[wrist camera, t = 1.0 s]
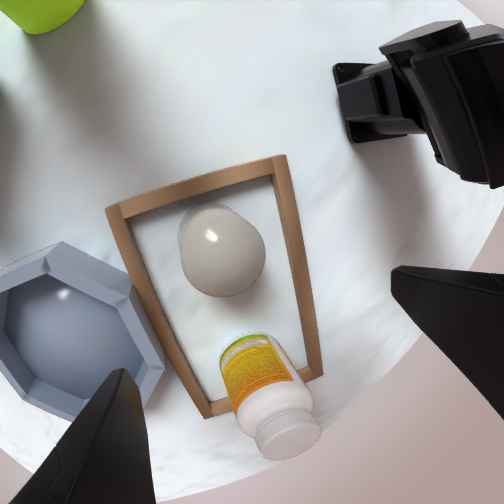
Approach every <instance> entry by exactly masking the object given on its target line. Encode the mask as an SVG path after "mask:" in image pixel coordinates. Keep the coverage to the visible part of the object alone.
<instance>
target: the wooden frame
mask: <svg viewBox="0 0 504 504" xmlns="http://www.w3.org/2000/svg"><path fill="white" fill-rule="evenodd" d="M268 174H271V178H272V183H273V187H274V192H275V196H276V201H277V205H278V210H279V214H280V219H281V224H282V229H283V233H284V238H285V243H286V248H287V253H288V258H289V262H290V267H291V273H292V278H293V283H294V288H295V293H296V298H297V304H298V309H299V315H300V320H301V326H302V331H303V337H304V343H305V348H306V354H307V360H308V366H307V367H305V368H303V369H300V370H298V371H297V372H298V374H299V375H300V377H301V378H302V380H303V381H304V383H306V382H308V381H310V380H313V379H315V378H317V377H319V376H321V375H323V368H322V360H321V352H320V344H319V337H318V329H317V322H316V315H315V309H314V302H313V295H312V289H311V283H310V277H309V271H308V265H307V259H306V253H305V248H304V242H303V236H302V231H301V226H300V220H299V215H298V210H297V205H296V200H295V195H294V190H293V186H292V181H291V176H290V171H289V167H288V162H287V158H286V155H277V156H273V157H268V158H264V159H260V160H256V161H252V162H248V163H244V164H240V165H236V166H233V167H229V168H225V169H222V170H218V171H214V172H211V173H208V174H204V175H201V176H197V177H194V178H191V179H187V180H184V181H181V182H178V183H175V184H171V185H168V186H165V187H162V188H159V189H156V190H153V191H150V192H147V193H144V194H142V195H139V196H136V197H133V198H130V199H127V200H125V201H122V202H119V203H117V204H114V205H111V206H109V207H107V208H106V209H105V212H106V215H107V218H108V221H109V224H110V227H111V229H112V232H113V235H114V238H115V240H116V243H117V246H118V248H119V251H120V254H121V256H122V259H123V261H124V264H125V266H126V269H127V271H128V274H129V276H130V278H131V281H132V283H133V285H134V288H135V290H136V292H137V295H138V297H139V299H140V301H141V303H142V306H143V308H144V310H145V312H146V314H147V316H148V318H149V321H150V323H151V325H152V327H153V329H154V331H155V333H156V335H157V337H158V339H159V341H160V343H161V345H162V347H163V349H164V351H165V352H166V354H167V356H168V358H169V360H170V362H171V364H172V365H173V367H174V369H175V371H176V373H177V375H178V376H179V378H180V380H181V382H182V383H183V385H184V387H185V388H186V390H187V392H188V394H189V395H190V397H191V399H192V400H193V402H194V404H195V405H196V407H197V408H198V410H199V412H200V413H201V415H202V416H203V418H204V419H207V418H211V417H214V416H217V415H220V414H224V413H227V412H230V411H233V407H232V404H231V401H230V398H229V397H226V398H223V399H220V400H217V401H214V402H210V403H209V402H208V400H207V398H206V397H205V395H204V393H203V391H202V389H201V387H200V386H199V384H198V382H197V380H196V378H195V376H194V374H193V372H192V370H191V369H190V367H189V365H188V363H187V361H186V359H185V357H184V355H183V353H182V351H181V349H180V347H179V344H178V342H177V340H176V338H175V336H174V334H173V332H172V330H171V328H170V325H169V323H168V321H167V319H166V317H165V314H164V312H163V310H162V308H161V305H160V303H159V301H158V298H157V296H156V294H155V291H154V289H153V286H152V284H151V282H150V279H149V277H148V274H147V272H146V269H145V267H144V264H143V261H142V259H141V256H140V253H139V251H138V248H137V245H136V243H135V240H134V237H133V234H132V231H131V229H130V226H129V223H128V220H127V218H128V217H131V216H134V215H137V214H139V213H142V212H145V211H148V210H151V209H154V208H157V207H160V206H163V205H166V204H169V203H172V202H175V201H178V200H181V199H184V198H188V197H191V196H194V195H197V194H200V193H204V192H207V191H210V190H214V189H217V188H221V187H224V186H227V185H231V184H235V183H238V182H242V181H245V180H249V179H253V178H256V177H260V176H264V175H268Z"/></svg>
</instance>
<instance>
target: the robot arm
mask: <svg viewBox="0 0 504 504" xmlns="http://www.w3.org/2000/svg"><path fill="white" fill-rule="evenodd" d="M379 50H380V51H381V53H382V54H383V55H385V56H386V58H387V61H384V62H380V63H377V64H366V63H337V64H335V65H334V66H333V73H334V76H335V80H336V84H337V90H338V94H339V98H340V102H341V107H342V111H343V115H344V118H345V122H346V127H347V132H348V137H349V140H350V141H351V142H352V143H363V142H370V141H376V140H382V139H389V138H396V137H404V136H407V135H408V134H427V136H428V138H429V140H430V143H431V145H432V147H433V150H434V152H435V155H434V156H435V158H436V161H437V163H439V164H441V165H443V166H445V167H447V168H448V169H450V170H451V171H453V172H455V173H457V174H459V175H460V178H461V179H462V180H464V181H467V182H472V183H478V184H489V186H490V188H491V189H496V188H498V187H501V186H504V29H502V28H499V27H497V26H494V25H491V24H489V25H488V24H486V25H481V26H477V27H472V28H468V29H466V28H465V26H464V24H463V23H462V21H461V20H453V21H438V22H434V23H431V24H428V25H425V26H422V27H419V28H416V29H414V30H411V31H409V32H407V33H405V34H403V35H401V36H399V37H397V38H395V39H394V40H392V41H390V42H388V43H386V44H384V45H382V46H380V47H379ZM338 67H339V68H340V69H341V72H340V71H339V70H338ZM354 135H356V140H355V138H354ZM391 293H392V296H393V297H394V298H395V300H396V301H397V302H398V303H399V304H400V306H401V307H402V308H403V309H404V310H405V312H406V313H407V314H408V315H409V317H410V318H411V319H412V320H413V321H414V323H415V324H416V325H417V326H418V327H419V328H420V329H421V330H422V331H423V332H424V333H425V334H426V335H427V336H428V337H429V338H430V339H431V340H432V341H433V342H434V343H435V344H436V345H437V346H438V347H439V348H440V349H441V351H442V352H443V353H444V354H445V355H446V356H447V357H448V358H449V359H450V360H451V361H452V362H453V363H454V364H455V365H456V366H457V367H458V369H460V371H461V372H462V373H463V374H464V375H465V376H466V377H467V378H468V379H469V380H470V382H471V383H472V384H473V385H474V386H475V387H476V388H477V389H478V391H479V392H480V393H481V394H482V395H483V396H484V397H485V398H486V400H487V401H488V402H489V403H490V405H491V406H492V407H493V408H494V409H495V410H496V412H497V413H498V414H499V415H500V416H501V417H502V419H503V420H504V274H496V273H483V272H472V271H461V270H449V269H438V268H426V267H415V266H403V265H401V266H399V267H396V268H394V269H393V270H392V271H391ZM8 504H156V500H155V494H154V487H153V480H152V472H151V463H150V454H149V444H148V434H147V428H146V423H145V417H144V412H143V406H142V400H141V394H140V390H139V387H138V385H137V384H136V382H135V381H134V379H133V378H132V376H131V375H130V373H129V372H128V370H127V369H126V368H119V369H115V370H113V371H112V372H111V373H110V374H109V375H108V377H107V378H106V379H105V381H104V382H103V383H102V384H101V386H100V387H99V388H98V390H97V391H96V392H95V393H94V395H93V396H92V397H91V399H90V400H89V401H88V403H87V404H86V405H85V406H84V408H83V409H82V410H81V412H80V413H79V414H78V416H77V417H76V418H75V420H74V421H73V422H72V424H71V425H70V426H69V428H68V429H67V430H66V432H65V433H64V435H63V436H62V437H61V439H60V440H59V441H58V443H57V444H56V447H54V448H53V450H52V451H51V452H50V454H49V455H48V456H47V458H46V459H45V460H44V462H43V463H42V464H41V466H40V467H39V468H38V469H37V471H36V472H35V473H34V474H33V476H32V477H31V478H30V479H29V480H28V482H27V483H26V484H25V485H24V486H23V487H22V489H21V490H20V491H19V492H18V493H17V495H16V496H15V497H14V498H13V500H11V502H10V503H8Z"/></svg>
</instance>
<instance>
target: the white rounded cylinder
mask: <svg viewBox="0 0 504 504" xmlns="http://www.w3.org/2000/svg"><path fill="white" fill-rule="evenodd" d="M178 239H179V247H180V254H181V261H182V267H183V271H184V273H185V276H186V278H187V279H188V281H189V282H190V283H191V284H192V285H193V286H194V287H195V288H196V289H197V290H199V291H200V292H202V293H204V294H207V295H210V296H215V297H227V296H232V295H235V294H238V293H240V292H242V291H244V290H246V289H247V288H248V287H250V286H251V285H252V284H253V283H254V282H255V281H256V279H257V278H258V276H259V275H260V273H261V271H262V269H263V266H264V262H265V245H264V242H263V239H262V237H261V235H260V234H259V232H258V231H257V229H256V228H255V227H254V226H253V225H251V224H250V223H249V222H248V221H246V220H245V219H244V218H242V217H241V216H240V215H239V214H237V213H236V212H235V211H233V210H232V209H231V208H229V207H228V206H226V205H224V204H221V203H217V202H206V203H202V204H199V205H197V206H195V207H193V208H192V209H191V210H189V211H188V212H187V213H186V215H185V216H184V217H183V219H182V221H181V223H180V226H179V231H178Z"/></svg>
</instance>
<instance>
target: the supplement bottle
mask: <svg viewBox="0 0 504 504" xmlns="http://www.w3.org/2000/svg"><path fill="white" fill-rule="evenodd" d="M219 367H220V370H221V374H222V377H223V380H224V383H225V386H226V389H227V392H228V395H229V398H230V401H231V404H232V407H233V410H234V413H235V416H236V419H237V422H238V424H239V426H240V428H241V430H242V431H243V432H244V433H245V434H247V435H248V436H250V437H252V438H255V440H256V443H257V446H258V448H259V450H260V452H261V454H262V456H263V457H264V458H266V459H269V460H284V459H288V458H292V457H294V456H297V455H299V454H301V453H303V452H305V451H306V450H308V449H309V448H311V447H312V446H313V445H314V444H315V443H316V442H317V441H318V439H319V437H320V436H321V428H320V426H319V425H318V423H317V421H316V419H315V417H314V416H313V415H312V414H311V412H312V410H313V397H312V395H311V393H310V391H309V389H308V387H307V386H306V384H305V383H304V381H303V380H302V378H301V377H300V375H299V374H298V372H297V371H296V369H295V368H294V366H293V365H292V363H291V361H290V360H289V358H288V357H287V355H286V353H285V352H284V350H283V349H282V347H281V346H280V344H279V343H278V342H277V340H276V339H275V338H274V337H272V336H271V335H269V334H266V333H263V332H248V333H244V334H241V335H239V336H237V337H235V338H233V339H232V340H231V341H229V342H228V343H227V344H226V345H225V347H224V348H223V350H222V351H221V354H220V357H219Z"/></svg>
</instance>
